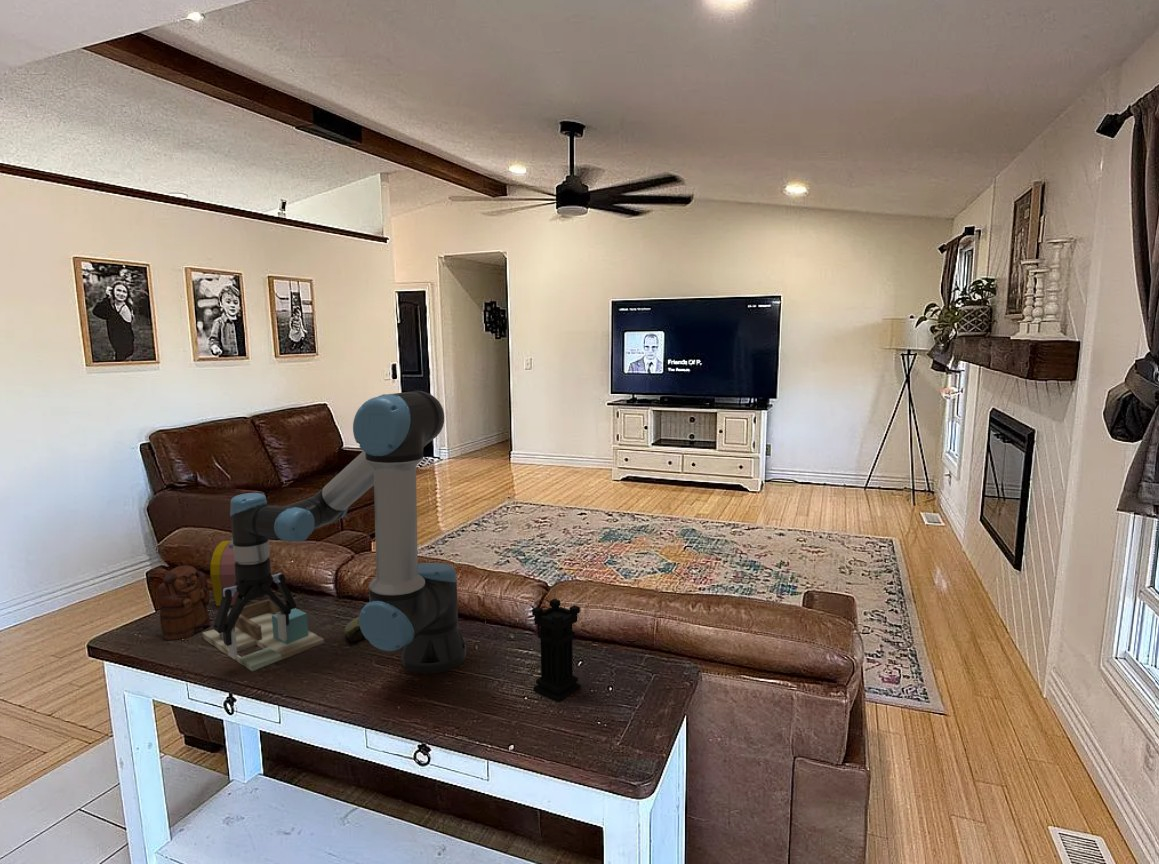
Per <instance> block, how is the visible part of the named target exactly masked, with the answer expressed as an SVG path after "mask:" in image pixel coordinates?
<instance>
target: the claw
mask: <svg viewBox="0 0 1159 864" xmlns="http://www.w3.org/2000/svg"><path fill="white" fill-rule="evenodd" d="M344 635H346V638H348V640H349V641H350V642H351V643H352V642H357V641H361V640H363V639H366V638H365V637H364V635H363V633H362V631H361V629H360V625H359V616H357V617H355V618H354V619H352V620H351V621H350V622H348V623H347V624H346V626H345V628H344Z"/></svg>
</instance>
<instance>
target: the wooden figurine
mask: <svg viewBox="0 0 1159 864" xmlns="http://www.w3.org/2000/svg"><path fill="white" fill-rule="evenodd" d="M162 581H163V582H162V583H161V584H160V585H159V586H158V587H157V604H158V605H160V606H161V607H160V610H159V619H160V620H159V621H160V627H161V631H162V634H163V638H164V639H165V640H170V641H171V640H182V639H186V638H189V637H193V635H194V634H198V633H199V632H201V631H203V630H204V629H205V628H206V627H210V626H211V625H212V624H211V620H210V619H211V618H210V614H209V610H208V607H207V605H209V603H210V590H209V588H208V587H209V586H208V580H207V575H206V574H205V572H203V571H200V570H198V569H197V568H196V567H193V566H190V565H180V566H176V567H174V568H172V569H171V570H169V571H168V572H167V573H166V574H165V576H164V577H163V578H162Z"/></svg>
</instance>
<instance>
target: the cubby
mask: <svg viewBox="0 0 1159 864" xmlns="http://www.w3.org/2000/svg"><path fill="white" fill-rule="evenodd" d="M278 612H281V611H280V610H279V609H278V608H277V607H276V606H275V605H274V604H273V603H272V602H271V600H270V599H269V598H267V599H264V600H260V601H258V602H255V603H254V602H253V603H251V604H247V605H245V606H244V608H243V610H242V612H241V614H240V616H239V618H238V619H237V621H236V623H235V627H237V628H238V629H240V630H241V631H243V632H245V633H246V634H248V635H250V636H251V637H253V638H254V639H256V640H258V641H259V640H262V632H261V626H260V625H258V624H256V623H255V622H253V621H251V620H249V619H251V618H254V617H257V616H260V615H263V614H266V613H271V614H273V615H275V614H277V613H278Z"/></svg>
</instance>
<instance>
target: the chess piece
mask: <svg viewBox="0 0 1159 864" xmlns="http://www.w3.org/2000/svg"><path fill="white" fill-rule="evenodd" d="M579 613H581V606H578V605H575V604H573V605H571V606H569V609H567V608H566V607H562V606H561V599H560V600H559V599H557V598H553V599H551V600H549V607H548V608H545V609H543V608H542V607H539V606H536V607H534V608H532V610H531V615H532V616H534V624H535V625H538V626H540V630H539V631H540V632H539V633H537V638H538V639H540V676H539V677H538V678H537V679H535V684H536V685H534V686H533V692H536V693H538V694H540V695H543V696H544V697H546V698H549V699H551V700H553V701H555V702H557V703H560V702H561V701H563V700H565V699H566V698H567V697H569V696H570V695H572V694H574V693H575V692H577V691H578V690H579V689H581V687H582V685H581V684H580V683H578V681H579V677H578V676H574V672H573V671H574V670H573V663H574V661H573V655H574V654H573V638H574V637H575V636H576V632H575V631H573V624H575V623H577V622H578V614H579Z"/></svg>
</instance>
